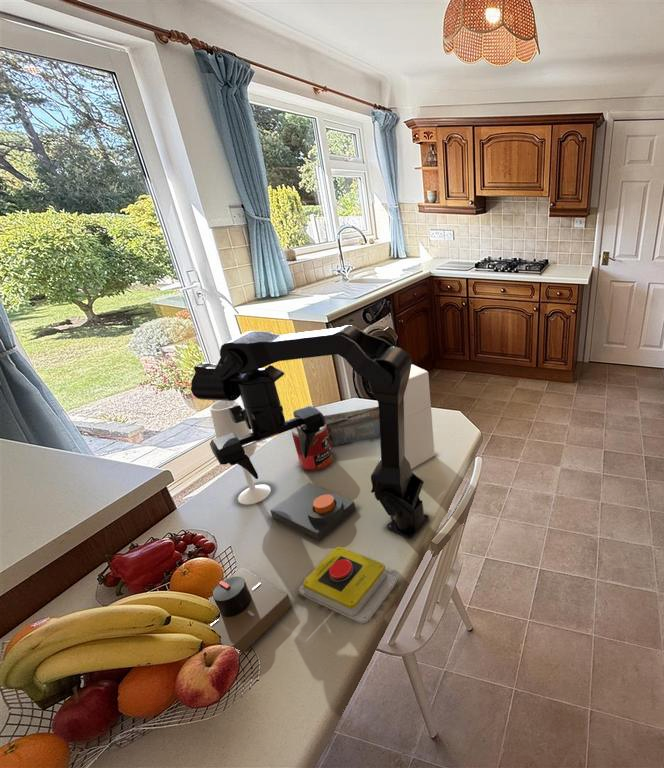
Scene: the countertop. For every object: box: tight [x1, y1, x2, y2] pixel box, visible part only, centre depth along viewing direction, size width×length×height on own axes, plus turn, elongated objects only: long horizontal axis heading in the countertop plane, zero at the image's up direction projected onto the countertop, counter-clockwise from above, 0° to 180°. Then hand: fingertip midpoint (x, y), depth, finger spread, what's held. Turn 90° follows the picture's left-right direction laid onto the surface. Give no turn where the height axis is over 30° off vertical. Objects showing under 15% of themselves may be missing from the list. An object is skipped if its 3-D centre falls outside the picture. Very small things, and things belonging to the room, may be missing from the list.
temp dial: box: [212, 576, 251, 617], centre depth 66 cm, size 4×4×4 cm
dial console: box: [208, 567, 292, 655], centre depth 67 cm, size 12×10×3 cm
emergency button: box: [298, 546, 398, 624], centre depth 72 cm, size 9×4×15 cm
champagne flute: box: [209, 399, 272, 505], centre depth 88 cm, size 7×7×24 cm
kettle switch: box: [313, 494, 335, 514], centre depth 85 cm, size 4×4×2 cm
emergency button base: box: [269, 482, 356, 542], centre depth 88 cm, size 14×10×4 cm
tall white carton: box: [404, 363, 436, 470], centre depth 102 cm, size 9×9×25 cm
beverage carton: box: [323, 406, 380, 447], centre depth 114 cm, size 8×19×7 cm, turn 111°
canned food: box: [290, 424, 334, 472], centre depth 102 cm, size 8×8×11 cm
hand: (281, 467), depth 82 cm, fingers open, 9 cm apart
